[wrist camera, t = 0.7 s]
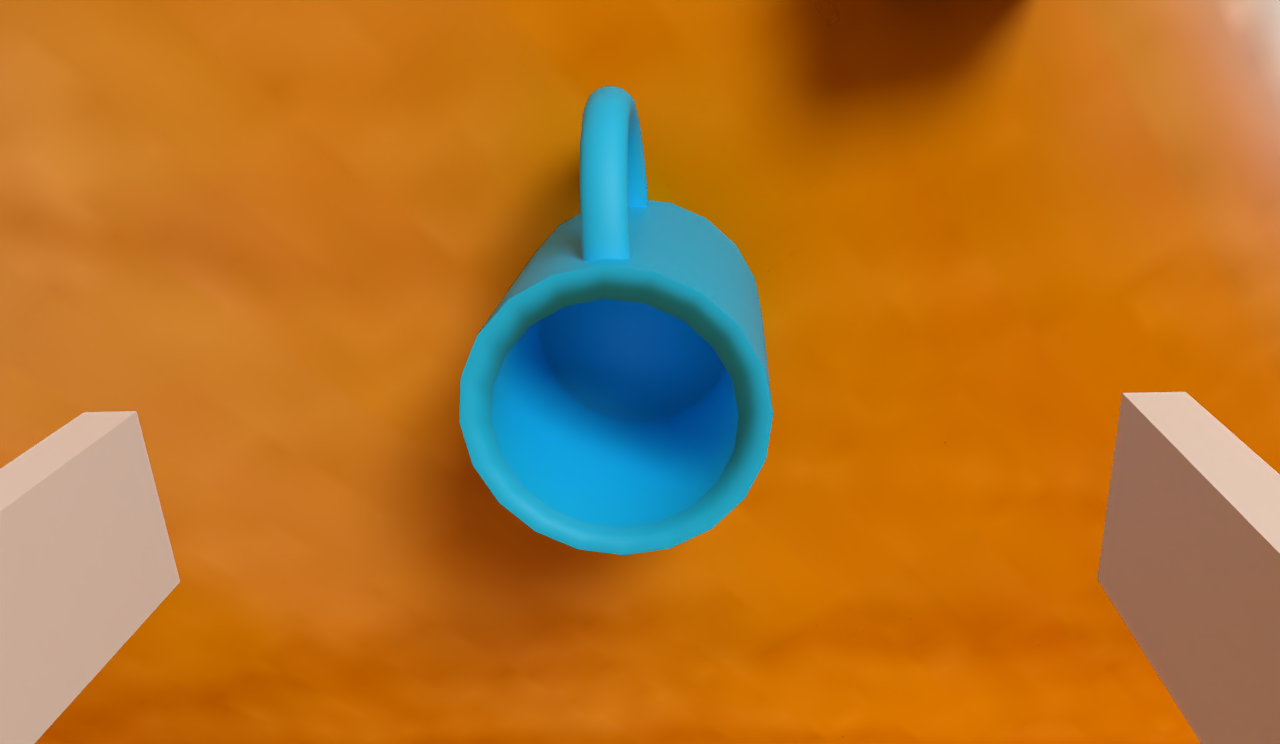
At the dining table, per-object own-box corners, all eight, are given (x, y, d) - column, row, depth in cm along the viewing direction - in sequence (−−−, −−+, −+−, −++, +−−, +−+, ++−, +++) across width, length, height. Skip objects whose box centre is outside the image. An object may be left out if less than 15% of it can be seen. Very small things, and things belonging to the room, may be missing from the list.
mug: (764, 427, 34) (775, 552, 27) (531, 433, 35) (478, 557, 28) (756, 65, 30) (767, 93, 22) (491, 81, 31) (415, 113, 23)
